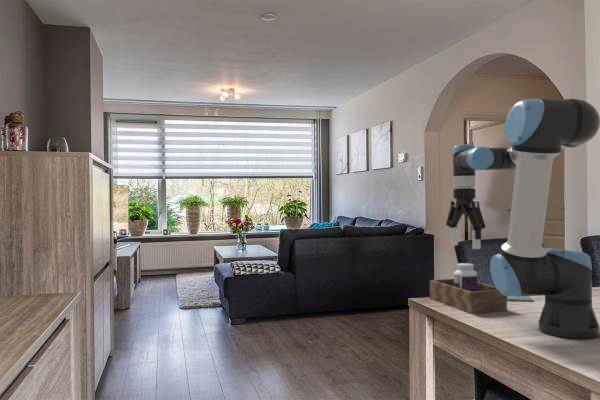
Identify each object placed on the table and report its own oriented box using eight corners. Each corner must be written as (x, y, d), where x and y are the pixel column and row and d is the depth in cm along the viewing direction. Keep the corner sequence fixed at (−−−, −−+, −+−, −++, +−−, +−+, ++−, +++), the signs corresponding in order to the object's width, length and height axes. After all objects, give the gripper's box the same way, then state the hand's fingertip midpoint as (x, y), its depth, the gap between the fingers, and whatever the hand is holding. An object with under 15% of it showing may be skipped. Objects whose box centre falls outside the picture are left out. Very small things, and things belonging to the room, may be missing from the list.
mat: (533, 301, 176) (533, 299, 176) (492, 300, 179) (492, 298, 179) (525, 294, 189) (525, 292, 189) (487, 293, 193) (487, 291, 193)
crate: (507, 310, 162) (506, 289, 162) (471, 313, 159) (470, 292, 159) (461, 296, 188) (461, 278, 188) (429, 298, 184) (429, 280, 184)
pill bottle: (481, 303, 173) (481, 263, 173) (472, 307, 167) (471, 266, 167) (460, 300, 179) (459, 262, 179) (450, 304, 173) (449, 264, 173)
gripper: (495, 187, 162) (496, 250, 162) (453, 188, 186) (454, 243, 186) (476, 187, 160) (477, 251, 160) (436, 188, 184) (437, 244, 184)
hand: (464, 247), depth 173 cm, fingers open, 13 cm apart
